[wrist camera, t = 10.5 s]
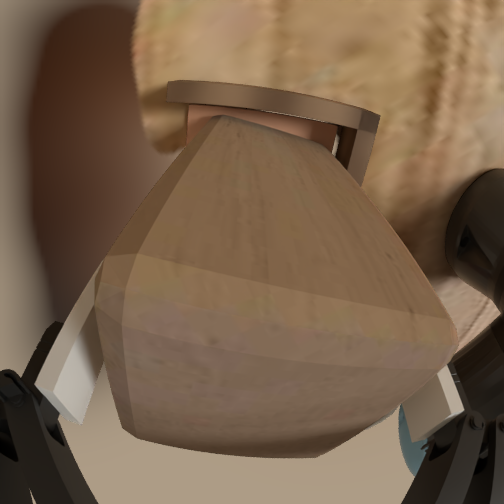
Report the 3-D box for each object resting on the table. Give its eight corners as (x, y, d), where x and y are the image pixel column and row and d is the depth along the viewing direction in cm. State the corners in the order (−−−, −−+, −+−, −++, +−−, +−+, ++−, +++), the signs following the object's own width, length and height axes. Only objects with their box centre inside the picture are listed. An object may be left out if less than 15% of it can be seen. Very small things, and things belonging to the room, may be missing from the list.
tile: (336, 125, 22) (337, 125, 21) (306, 245, 28) (306, 247, 28) (189, 104, 21) (189, 104, 20) (183, 230, 27) (182, 232, 27)
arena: (363, 108, 21) (380, 115, 18) (322, 255, 29) (329, 277, 26) (180, 80, 19) (168, 81, 17) (173, 238, 28) (164, 260, 25)
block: (290, 242, 28) (324, 461, 11) (186, 216, 26) (117, 438, 10) (330, 145, 22) (480, 347, 6) (212, 109, 21) (69, 272, 4)
